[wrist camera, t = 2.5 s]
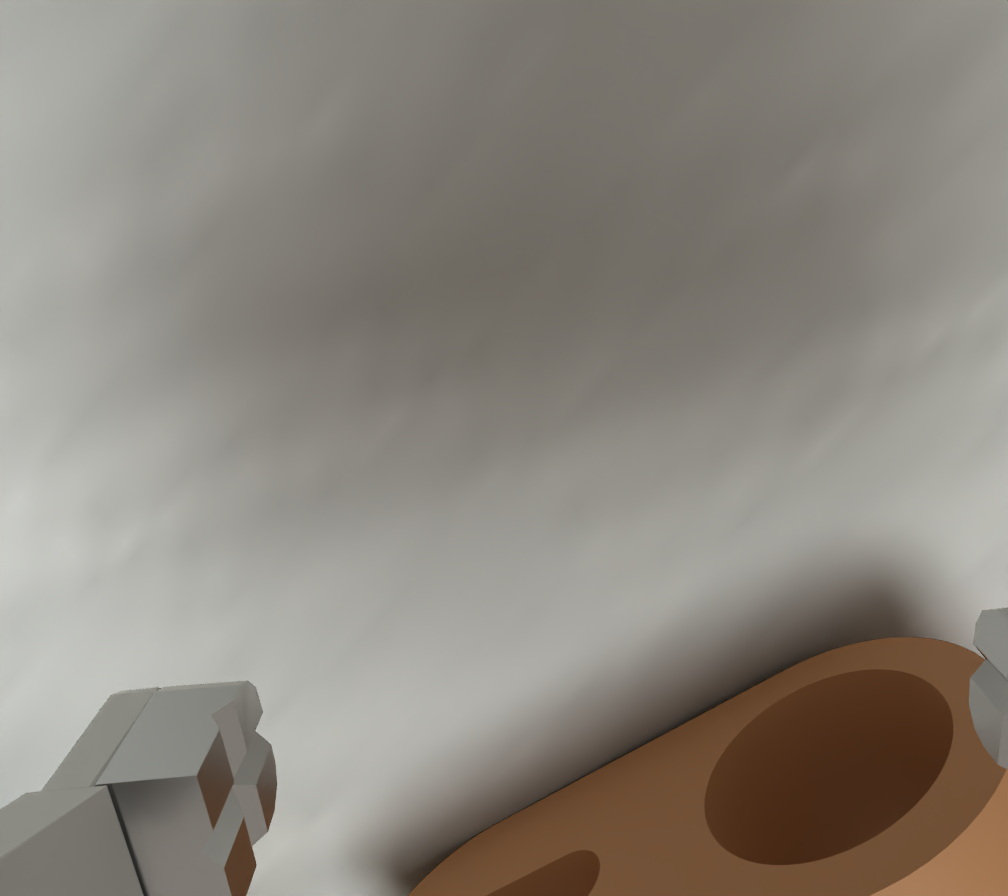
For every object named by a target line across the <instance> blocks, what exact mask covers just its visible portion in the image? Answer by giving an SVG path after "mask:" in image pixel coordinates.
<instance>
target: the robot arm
mask: <svg viewBox="0 0 1008 896" xmlns="http://www.w3.org/2000/svg"><path fill="white" fill-rule="evenodd" d="M973 644H974V645H975V646H976V647H977V649H978V650H979V651H980V652H981V654H982V655H983V656H984V658H985V659H986V660H985V661H984V662H983V663H982V664H981V666H980V667H979V668H978V669H977V670H976V671H975V673H974V674H973V675H972V676H971V677H970V688H969V707H970V712H971V716H972V720H973V724H974V728H975V731H976V733H977V734H978V736H979V738H980V740H981V742H982V744H983V746H984V748H985V749H986V750H987V752H988V753H989V754H990V755H991V757H992V758H993V759H994V761H995V762H996V763H997V764H998V765H1000V766H1002V767H1004V768H1006V769H1008V607H1007V608H998V609H990V610H982V612H981V614H980V616H979V618H978V620H977V622H976V625H975V634H974V643H973ZM262 713H263V710H262V707H261V703H260V700H259V696H258V693H257V689H256V687H255V686H254V685H253V684H251V683H250V682H249V681H236V682H223V683H210V684H197V685H183V686H170V687H163V688H159V687H155V688H146V689H136V690H127V691H120V692H118V693H115V694H113V695H110V697H109V698H108V699H107V701H106V702H105V703H104V705H103V706H102V708H101V709H100V710H99V712H98V713H97V714H96V716H95V717H94V719H93V720H92V721H91V723H90V724H89V726H88V727H87V728H86V730H85V731H84V732H83V734H82V735H81V737H80V738H79V739H78V741H77V742H76V744H75V745H74V746H73V748H72V749H71V751H70V752H69V753H68V755H67V756H66V757H65V759H64V760H63V762H62V763H61V764H60V766H59V767H58V769H57V770H56V771H55V773H54V774H53V775H52V777H51V778H50V780H49V781H48V782H47V784H46V785H45V787H44V788H43V789H42V791H40V792H31V793H25V794H24V795H22V796H21V797H19V798H18V799H16V800H14V801H13V802H11V803H10V804H8V805H7V806H5V807H3V808H2V809H0V896H246V894H247V891H248V889H249V886H250V883H251V880H252V877H253V874H254V871H255V868H256V861H255V857H254V853H253V850H252V846H253V845H254V844H255V843H256V842H257V841H258V840H259V839H260V838H261V837H263V836H264V835H265V834H266V833H267V832H268V830H269V826H270V823H271V820H272V817H273V814H274V810H275V800H276V790H277V777H276V765H275V759H274V755H273V751H272V746H271V744H270V743H269V742H268V741H266V740H265V739H264V738H263V737H262V736H261V735H259V734H258V733H257V732H256V731H255V730H256V728H257V726H258V723H259V721H260V718H261V716H262Z"/></svg>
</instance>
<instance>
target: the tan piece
mask: <svg viewBox="0 0 1008 896" xmlns="http://www.w3.org/2000/svg"><path fill="white" fill-rule="evenodd" d="M984 661H985V659H984V658H982V657H981V656H979V655H977V654H976V653H974V652H972V651H970V650H968V649H966V648H964V647H962V646H959V645H956V644H952V643H949V642H946V641H941V640H936V639H929V638H919V637H895V638H883V639H876V640H869V641H864V642H859V643H854V644H850V645H847V646H843V647H839V648H836V649H833V650H830V651H827V652H824V653H821V654H819V655H817V656H814V657H812V658H809V659H807V660H804V661H802V662H800V663H798V664H796V665H794V666H792V667H790V668H788V669H786V670H784V671H782V672H780V673H778V674H776V675H775V676H773V677H771V678H769V679H767V680H765V681H763V682H761V683H760V684H758V685H756V686H754V687H752V688H750V689H748V690H746V691H745V692H743V693H741V694H739V695H737V696H735V697H733V698H731V699H729V700H728V701H726V702H724V703H722V704H720V705H718V706H716V707H714V708H713V709H711V710H709V711H707V712H705V713H703V714H701V715H699V716H698V717H696V718H694V719H692V720H690V721H688V722H686V723H684V724H683V725H681V726H679V727H677V728H675V729H673V730H671V731H669V732H668V733H666V734H664V735H662V736H660V737H658V738H656V739H654V740H653V741H651V742H649V743H647V744H645V745H643V746H641V747H639V748H638V749H636V750H634V751H632V752H630V753H628V754H626V755H624V756H623V757H621V758H619V759H617V760H615V761H613V762H611V763H609V764H608V765H606V766H604V767H602V768H600V769H598V770H596V771H594V772H593V773H591V774H589V775H587V776H585V777H583V778H581V779H579V780H578V781H576V782H574V783H572V784H570V785H568V786H566V787H564V788H563V789H561V790H559V791H557V792H555V793H553V794H551V795H549V796H548V797H546V798H544V799H542V800H540V801H538V802H536V803H534V804H532V805H531V806H529V807H527V808H525V809H523V810H521V811H519V812H517V813H516V814H514V815H512V816H510V817H508V818H506V819H504V820H502V821H501V822H499V823H497V824H495V825H493V826H492V827H490V828H488V829H486V830H485V831H483V832H481V833H480V834H478V835H477V836H475V837H474V838H472V839H471V840H469V841H468V842H467V843H465V844H464V845H462V846H461V847H460V848H458V849H457V850H456V851H455V852H453V853H452V854H451V855H450V856H448V857H447V858H446V859H445V860H444V861H443V862H441V863H440V864H439V865H438V866H437V867H436V868H435V869H434V870H433V871H431V872H430V873H429V874H428V875H427V876H426V877H425V878H424V879H423V880H422V881H421V882H420V883H419V884H418V885H417V886H416V887H415V888H414V889H413V890H412V892H411V893H410V894H409V895H408V896H1008V769H1006V768H1004V767H1002V766H1000V765H998V764H997V763H996V762H995V761H994V759H993V758H992V757H991V755H990V754H989V753H988V752H987V750H986V749H985V748H984V746H983V744H982V742H981V740H980V738H979V736H978V734H977V733H976V731H975V728H974V724H973V720H972V716H971V712H970V707H969V688H970V677H971V676H972V675H973V674H974V673H975V671H976V670H977V669H978V668H979V667H980V666H981V664H982V663H983V662H984Z"/></svg>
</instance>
